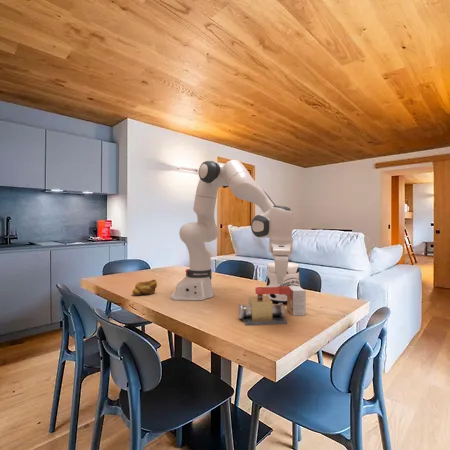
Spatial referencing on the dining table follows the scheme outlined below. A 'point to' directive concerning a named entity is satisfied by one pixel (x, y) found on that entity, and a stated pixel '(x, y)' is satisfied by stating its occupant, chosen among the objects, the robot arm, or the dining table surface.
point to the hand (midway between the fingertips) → (279, 283)
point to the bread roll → (145, 287)
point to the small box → (296, 301)
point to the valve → (262, 311)
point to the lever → (272, 290)
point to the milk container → (289, 280)
